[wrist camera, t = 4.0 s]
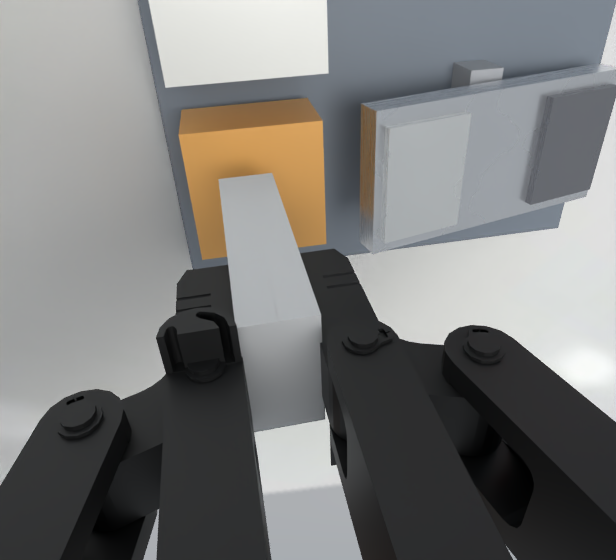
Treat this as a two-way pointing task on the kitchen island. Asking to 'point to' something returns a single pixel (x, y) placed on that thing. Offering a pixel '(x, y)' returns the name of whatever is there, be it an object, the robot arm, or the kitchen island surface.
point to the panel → (396, 86)
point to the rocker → (479, 153)
